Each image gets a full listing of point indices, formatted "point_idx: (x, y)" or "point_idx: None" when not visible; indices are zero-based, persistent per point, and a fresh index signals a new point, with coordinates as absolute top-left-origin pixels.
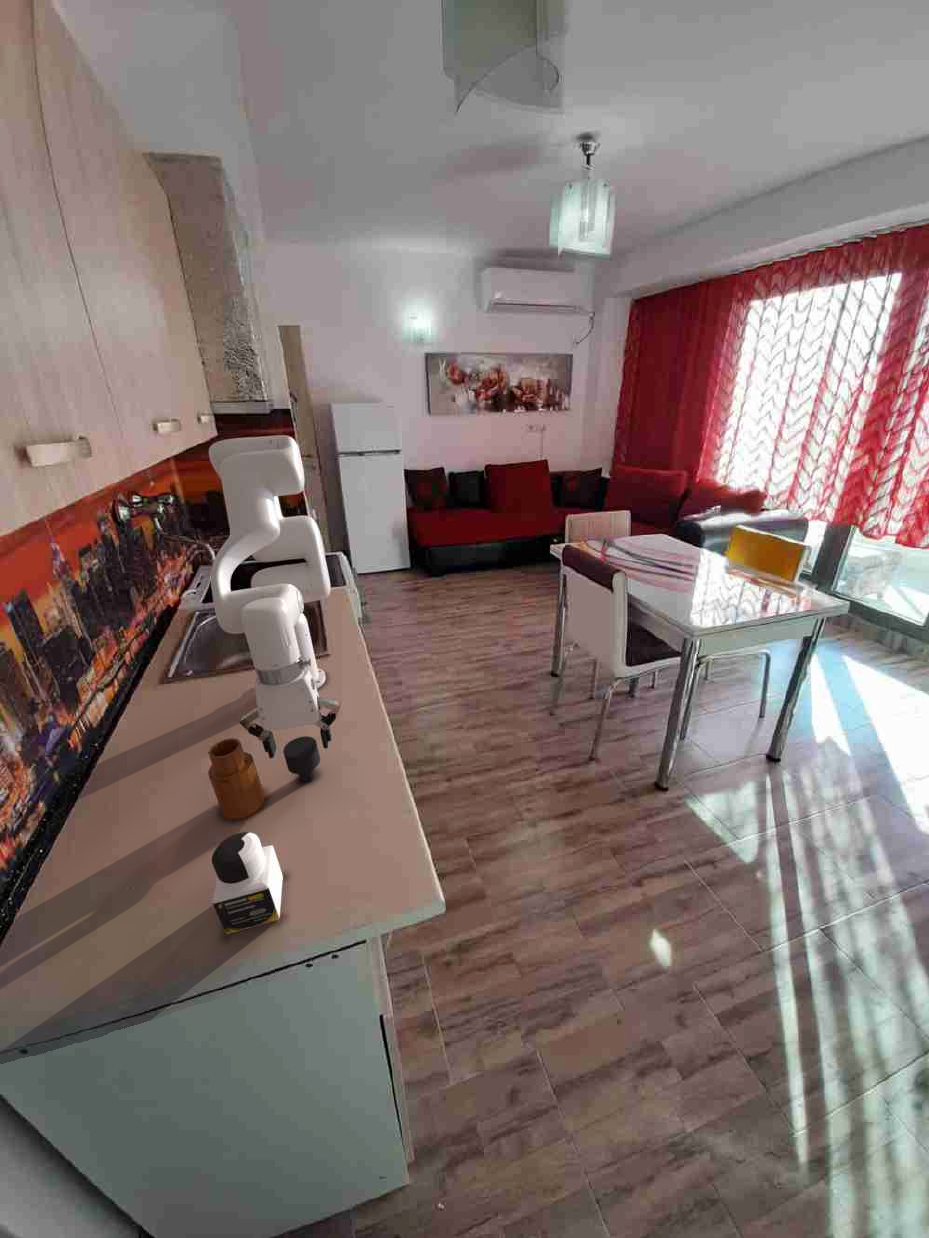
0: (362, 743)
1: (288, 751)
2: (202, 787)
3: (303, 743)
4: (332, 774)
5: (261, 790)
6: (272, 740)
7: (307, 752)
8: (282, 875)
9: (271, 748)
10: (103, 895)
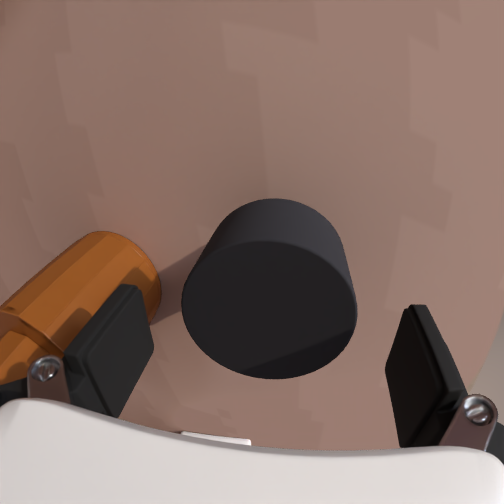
0: (478, 121)
1: (211, 334)
2: (10, 192)
3: (285, 304)
4: (365, 246)
5: (147, 306)
6: (116, 357)
7: (307, 368)
8: (250, 444)
9: (134, 384)
10: None
